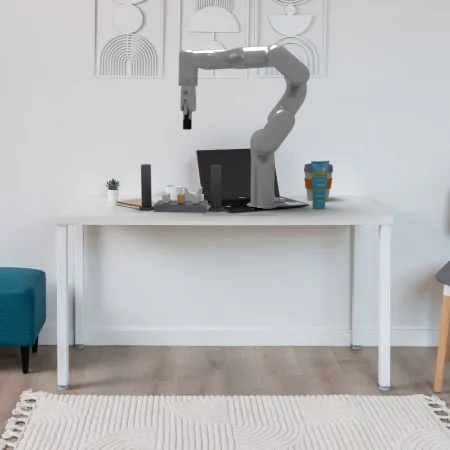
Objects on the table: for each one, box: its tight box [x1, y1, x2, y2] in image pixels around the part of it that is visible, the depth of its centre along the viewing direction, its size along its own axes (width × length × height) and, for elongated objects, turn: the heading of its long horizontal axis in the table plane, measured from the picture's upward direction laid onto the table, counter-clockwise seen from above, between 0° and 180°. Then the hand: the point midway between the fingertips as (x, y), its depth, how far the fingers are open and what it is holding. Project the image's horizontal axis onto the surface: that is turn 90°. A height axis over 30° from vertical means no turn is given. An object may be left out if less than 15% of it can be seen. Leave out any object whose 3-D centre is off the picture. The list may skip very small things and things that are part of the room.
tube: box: [310, 160, 330, 210], centre depth 310 cm, size 7×5×19 cm, turn 104°
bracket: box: [183, 186, 205, 201], centre depth 326 cm, size 13×7×8 cm, turn 176°
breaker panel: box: [153, 199, 209, 213], centre depth 308 cm, size 20×10×3 cm, turn 85°
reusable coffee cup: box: [303, 163, 334, 202], centre depth 333 cm, size 13×13×15 cm
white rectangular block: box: [161, 192, 171, 203], centre depth 308 cm, size 2×5×3 cm, turn 174°
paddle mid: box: [176, 192, 185, 203], centre depth 307 cm, size 2×5×3 cm, turn 175°
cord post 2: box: [208, 164, 225, 213], centre depth 305 cm, size 6×6×18 cm
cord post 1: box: [138, 163, 154, 212], centre depth 308 cm, size 6×6×18 cm
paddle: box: [192, 194, 200, 204], centre depth 307 cm, size 2×5×3 cm, turn 175°
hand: (187, 129), depth 305 cm, fingers closed
